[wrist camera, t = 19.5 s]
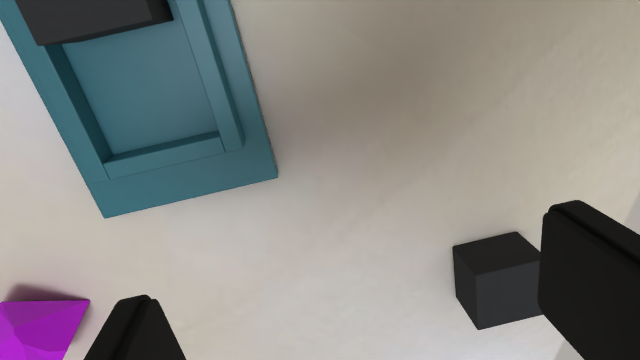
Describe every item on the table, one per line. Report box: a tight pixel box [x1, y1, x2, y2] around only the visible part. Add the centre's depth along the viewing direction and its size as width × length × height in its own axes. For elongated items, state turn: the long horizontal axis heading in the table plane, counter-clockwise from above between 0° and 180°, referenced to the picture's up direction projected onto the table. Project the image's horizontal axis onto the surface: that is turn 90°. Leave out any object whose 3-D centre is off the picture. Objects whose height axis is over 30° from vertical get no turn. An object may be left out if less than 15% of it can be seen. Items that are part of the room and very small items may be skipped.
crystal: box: [0, 300, 90, 360], centre depth 24 cm, size 5×5×5 cm
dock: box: [0, 0, 278, 218], centre depth 19 cm, size 11×19×2 cm, turn 12°
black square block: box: [453, 232, 543, 330], centre depth 27 cm, size 5×5×4 cm
